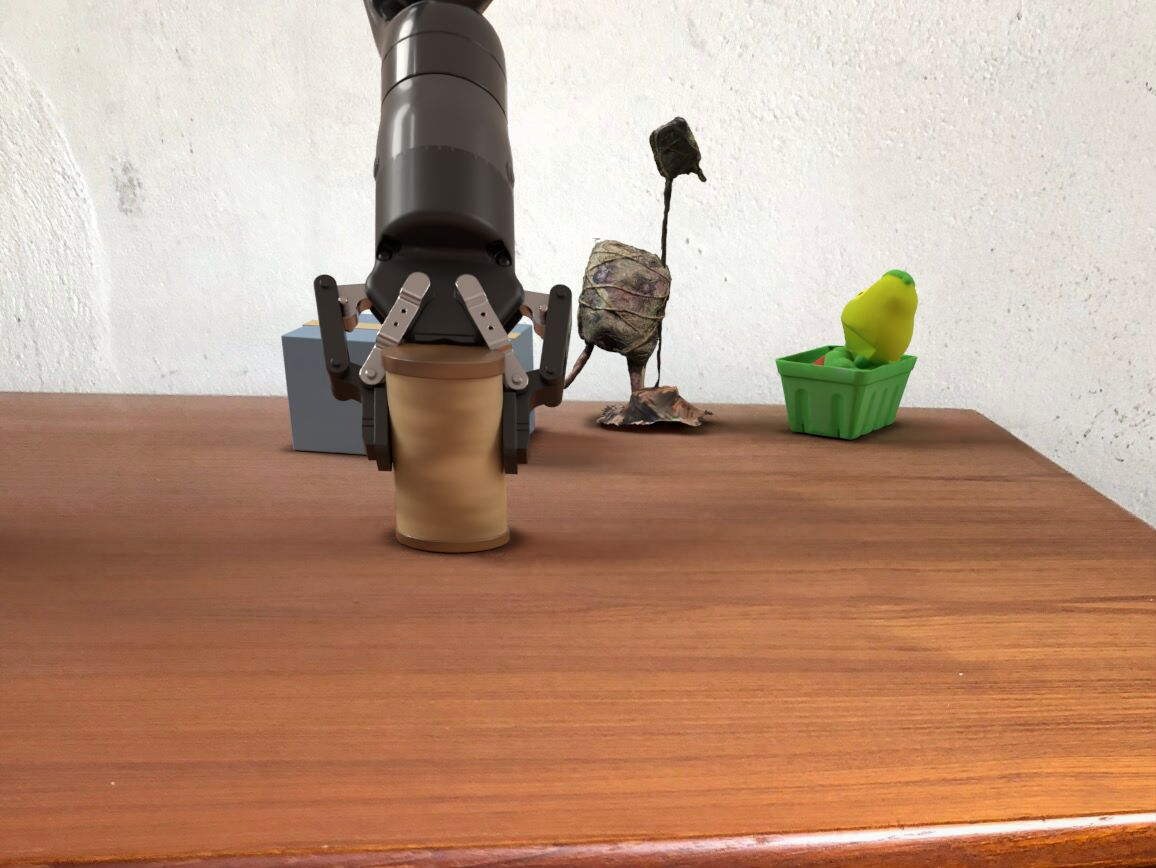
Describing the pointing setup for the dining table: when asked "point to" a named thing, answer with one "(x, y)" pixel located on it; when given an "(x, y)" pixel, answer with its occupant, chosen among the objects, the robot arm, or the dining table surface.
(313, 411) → the blue box
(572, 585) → the dining table surface
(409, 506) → the tan lidded canister
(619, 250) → the brown bird sculpture
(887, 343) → the fruit basket
